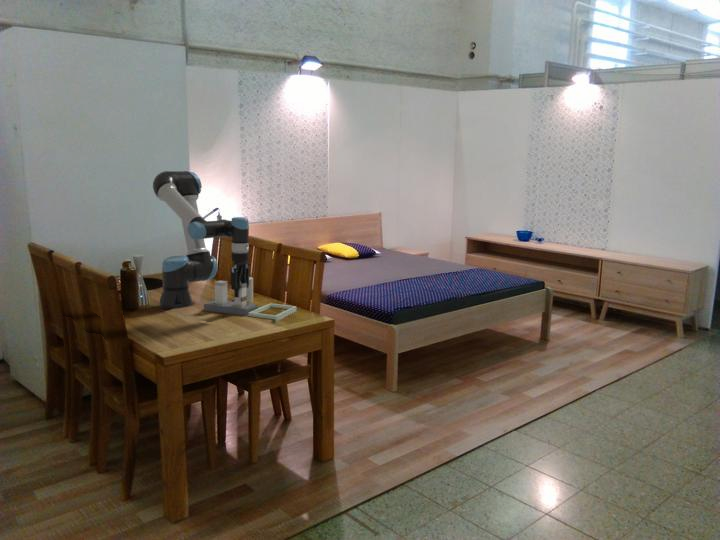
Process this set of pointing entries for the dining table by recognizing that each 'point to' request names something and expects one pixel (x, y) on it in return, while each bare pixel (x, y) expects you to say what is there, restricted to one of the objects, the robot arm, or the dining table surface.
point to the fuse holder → (229, 308)
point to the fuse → (221, 292)
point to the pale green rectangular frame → (276, 317)
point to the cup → (249, 290)
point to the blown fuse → (242, 295)
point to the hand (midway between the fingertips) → (240, 302)
